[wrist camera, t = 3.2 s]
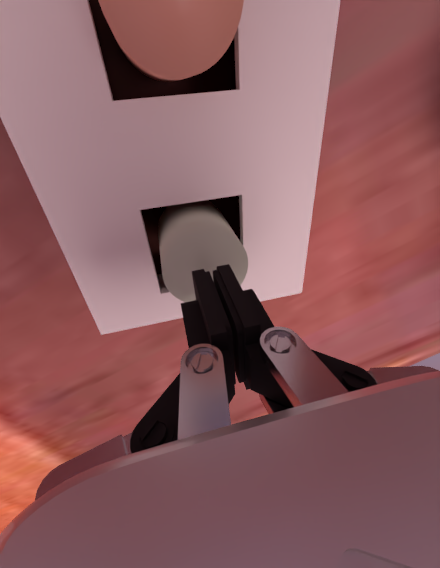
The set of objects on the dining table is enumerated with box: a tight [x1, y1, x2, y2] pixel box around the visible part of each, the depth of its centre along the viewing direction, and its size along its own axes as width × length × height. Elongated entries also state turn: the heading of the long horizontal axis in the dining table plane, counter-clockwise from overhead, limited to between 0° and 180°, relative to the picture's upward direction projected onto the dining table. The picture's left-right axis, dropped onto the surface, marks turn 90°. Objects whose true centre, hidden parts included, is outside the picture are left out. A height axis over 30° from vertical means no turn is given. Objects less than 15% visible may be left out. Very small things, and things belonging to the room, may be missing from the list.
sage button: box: [158, 200, 248, 302], centre depth 16 cm, size 4×4×5 cm
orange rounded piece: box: [98, 0, 244, 82], centre depth 10 cm, size 4×4×5 cm
